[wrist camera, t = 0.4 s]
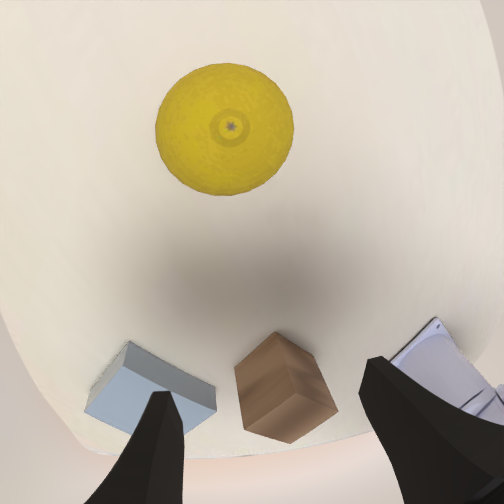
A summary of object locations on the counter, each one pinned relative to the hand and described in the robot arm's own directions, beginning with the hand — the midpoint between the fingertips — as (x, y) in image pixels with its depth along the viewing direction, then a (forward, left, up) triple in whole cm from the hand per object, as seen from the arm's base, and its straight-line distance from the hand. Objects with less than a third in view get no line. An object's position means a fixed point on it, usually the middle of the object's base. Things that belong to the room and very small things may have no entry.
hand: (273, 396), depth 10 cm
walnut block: (-7, +4, -10) cm, 13 cm away
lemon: (+7, -6, -10) cm, 13 cm away
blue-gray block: (-1, +13, -10) cm, 17 cm away
